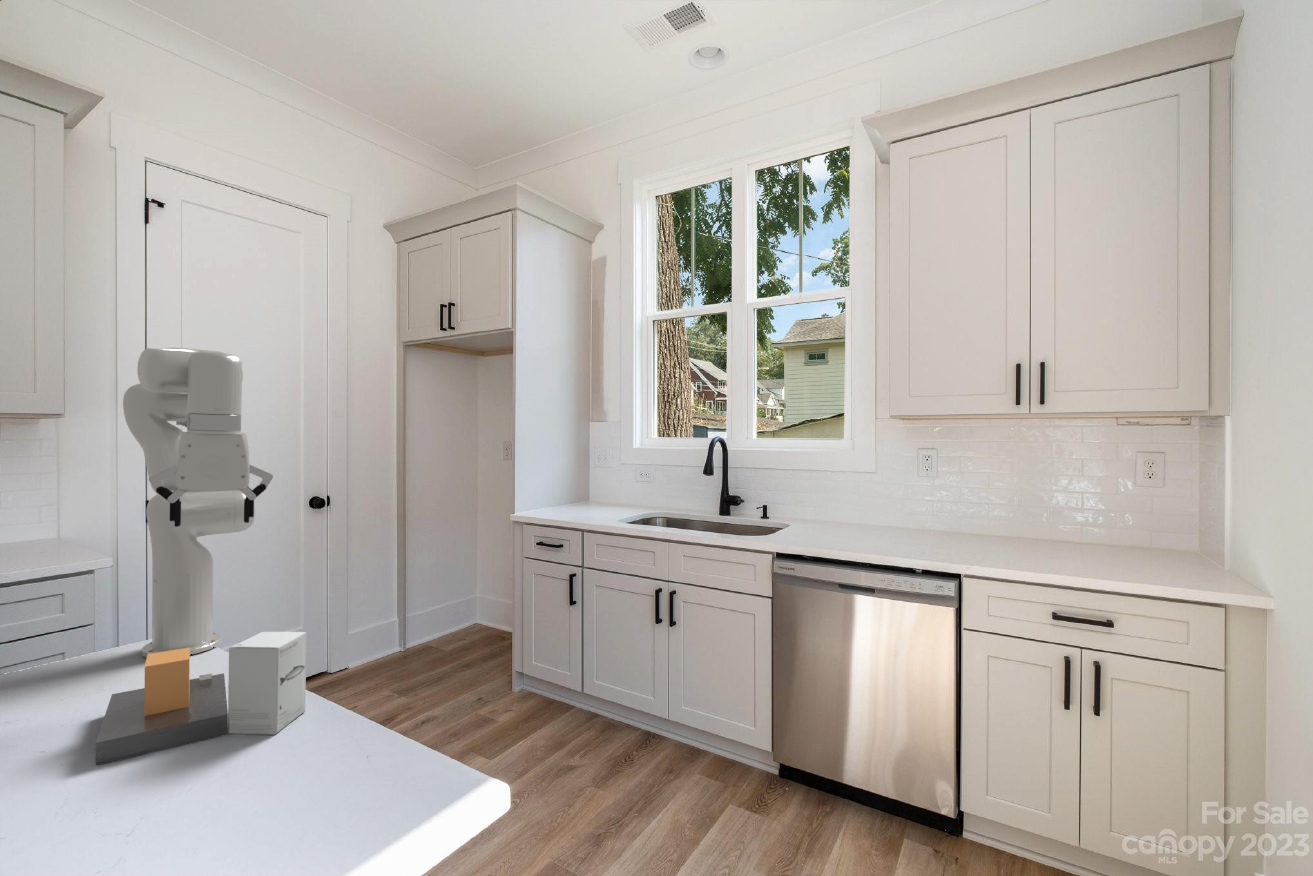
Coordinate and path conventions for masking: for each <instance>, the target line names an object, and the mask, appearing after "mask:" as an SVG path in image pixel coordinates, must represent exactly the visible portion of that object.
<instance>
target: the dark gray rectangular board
mask: <svg viewBox="0 0 1313 876" xmlns="http://www.w3.org/2000/svg"><path fill="white" fill-rule="evenodd" d="M198 676H199V677H197V678H192V679H191V678H190V695H189V707H185V708H180V709H175V710H171V711H166V712H161V713H156V714H151V715H146V716H144V711H145V687H143V688H138V689H133V690H128V691H123V692H116V693H112V694H111V696H110V699H109V702H108V705H107V708H106V712H105V714H104V718H103V721H102V723H101V726H100V729H99V731H98V732H99V733H98V734H97V737H96V741H95V767H97V766H100V765H106V764H109V763H114V762H119V761H122V760H126V759H127V760H128V759H130V758H135V757H139V756H143V755H148V754H152V753H156V752H160V751H164V750H169V749H172V748H173V749H174V748H177V747H181V746H186V745H191V744H195V743H198V742H202V741H203V742H204V741H207V740H211V739H216V738H219V737H223V736H228V734H229V733H228V701H227V700H228V699H227V690H226V679H225V678H226V677H225V673H218V674H213V675H212V673H207V674H202V675H198Z"/></svg>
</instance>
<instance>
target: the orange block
mask: <svg viewBox="0 0 1313 876" xmlns="http://www.w3.org/2000/svg"><path fill="white" fill-rule="evenodd" d="M190 659H191V655H190V647H189V648H183V649H176V650H170V651H164V652H158V653H151V654H148V655H147V657H146V659H145V664H144V688H145V711H144V716H146V715H151V714H156V713H161V712H166V711H171V710H175V709H180V708H185V707H189V695H190V680H191V677H190V672H191V671H190V669H191V667H190V666H191V663H190V662H191V661H190Z"/></svg>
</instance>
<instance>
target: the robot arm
mask: <svg viewBox="0 0 1313 876" xmlns="http://www.w3.org/2000/svg"><path fill="white" fill-rule="evenodd" d="M137 361H138V362H137V369H136V370H137V377H138V381H139V383H137V384H134V385H131V386H130V387H128V388H127V389H126V391H124V395H123V398H122V408H123V415H124V418H125V422H126V425H127V427H128V429H129V431H130V432H131V435H132V436H133V437H134V439H135V440H136V441H137V443H138V444H139V445H140V448H141V449H142V451H143V456H144V461H145V466H146V470H147V475H148V476H147V477H148V481H149V483H150V486H151V488H152V490H153V491H154V493H155V495H154V496H152V497H151V498H150V499H149V500H148V502H147V506H146V511H145V512H146V520H147V525H148V530H149V537H150V544H151V559H152V563H151V564H152V566H151V567H152V571H151V572H152V575H151V577H152V579H151V580H152V581H151V582H152V583H151V585H152V586H151V588H152V589H151V590H152V592H151V596H152V597H151V601H152V602H151V603H152V604H151V606H152V607H151V610H152V612H151V641H150V642H148V643H147V644H145V645H144V646H142V648H141V655H142V657H144V658H147V655H148V654H151V653H158V652H164V651H170V650H176V649H183V648H189V647H190V656H191V654H192V655H196V654H199V653H203V652H206V651H209V650H212V649H214V648H216V647H218V646H219V645H221V643H222V641H223V636H222V635H221V634H220V633H219V632H218V633H217V632H214V631H213V630H214V629H213V621H214V620H213V610H214V609H213V607H214V606H213V604H214V603H213V602H214V600H213V598H214V597H213V596H214V588H213V587H214V585H213V584H214V581H213V580H214V579H213V578H214V561H213V560H214V559H213V556H212V553H211V552H210V550H208V549H207V547H205V546H204V545H203V544H202V543H200V542H199V540H198V539H197V538H199V537H205V536H211V535H214V536H215V535H222V534H232V533H233V534H234V533H240V532H243V531H246V530H248V529H249V528H251V526H252V525H253V524H254V521H255V519H256V506H255V499H257V498H258V497H259V496H260V495H261V494H262V493H264V492H265V491H266V489H267V488H268V486H269V484H270V483H271V481H272V480H273V479H274V475H273V474H272V473H271V472H268V471H266V470H264V469H261V468H259V467H257V466H254V465H251V464H250V451H249V450H250V449H249V442H248V437H247V433H245V432H242V431H241V430H242V394H243V393H242V391H243V387H242V386H243V384H242V383H243V380H244V379H243V377H244V373H243V362H242V360H241V358H240V357H239V356H238V355H235V354H231V353H226V352H222V351H216V350H204V349H197V348H195V349H194V348H188V347H187V348H184V347H167V348H149V347H148V348H144V350H143V351H142V352H141V353H140V356H139V358H138V360H137ZM170 422H176V425H174V424H172V423H170ZM178 426H182V427H185V428H186V431H183V429H180V428H179V427H178ZM250 474H251V475H254V476H257V477H258V478H261V481H260V482H259V484H257V485H256V486H255V487H254V488H253V489H252V488H251V487H250V485H249V483H250ZM202 641H203V642H206V643H208V644H210V645H212V646H214V648H213V647H211V646H209V645H207V644H206V643H203V642H202Z"/></svg>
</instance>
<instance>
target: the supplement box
mask: <svg viewBox="0 0 1313 876" xmlns="http://www.w3.org/2000/svg"><path fill="white" fill-rule="evenodd" d="M306 674H307V632H306V631H261V632H259V633H256V634H255V635H253V636H250V637H249V638H247V639H244V640H242V641H241V642H238V643H236V644H234V645H232V646H230V647H229V648H228V686H227V687H228V688H227V689H228V690H227V692H228V693H227V694H228V697H227V698H228V699H227V700H228V701H227V711H228V734H238V735H239V734H243V735H245V734H246V735H277V734H278V733H279V732H280V731H281V730H282V729H284V728H285V727H287V726H288V725H289V724H290V723H291V722H293V721H294V720H296V719H297V718H298V717H300V716H301V715H302V713H303V714H304V713H305V712H306V691H305V690H307V689H306V685H307V681H306V679H307V677H306V676H307V675H306Z"/></svg>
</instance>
